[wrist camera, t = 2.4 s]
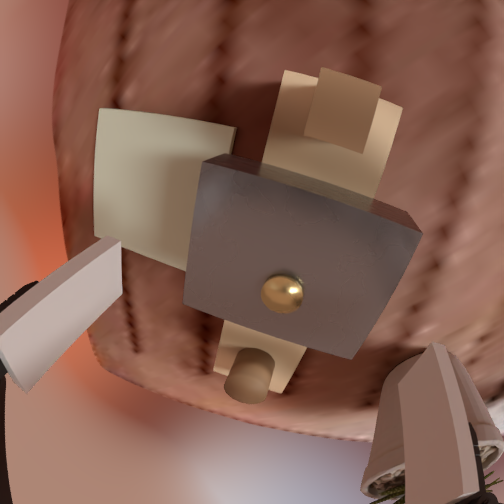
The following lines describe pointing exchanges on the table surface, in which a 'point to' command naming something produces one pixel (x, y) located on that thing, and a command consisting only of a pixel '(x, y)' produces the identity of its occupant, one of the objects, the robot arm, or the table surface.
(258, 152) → the table surface
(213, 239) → the grey block with knob
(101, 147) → the felt pad
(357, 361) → the table surface
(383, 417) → the potted plant
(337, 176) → the body
